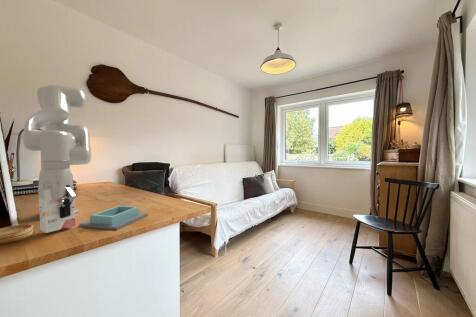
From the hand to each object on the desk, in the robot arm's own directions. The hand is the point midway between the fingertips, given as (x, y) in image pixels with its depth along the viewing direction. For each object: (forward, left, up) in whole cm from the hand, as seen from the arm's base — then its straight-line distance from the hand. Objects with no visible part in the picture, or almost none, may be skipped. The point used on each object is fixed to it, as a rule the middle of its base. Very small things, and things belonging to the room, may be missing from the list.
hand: (57, 215), depth 73 cm
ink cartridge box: (0, 0, -5) cm, 5 cm away
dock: (+12, +14, -5) cm, 19 cm away
